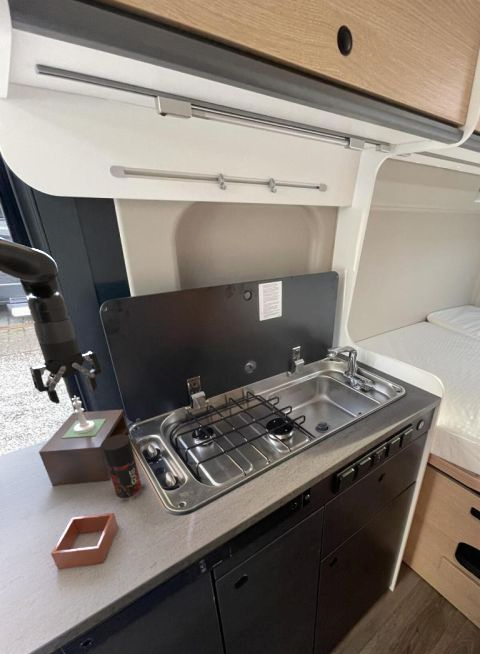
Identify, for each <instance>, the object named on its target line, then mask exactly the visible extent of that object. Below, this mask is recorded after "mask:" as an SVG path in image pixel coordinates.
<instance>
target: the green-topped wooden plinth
mask: <svg viewBox="0 0 480 654" xmlns="http://www.w3.org/2000/svg"><path fill="white" fill-rule="evenodd" d="M82 413H83V415H84V417H85V419H86V421H92V422H94V424H95V427H94V428H93V429H92V430H90V431H88V432H85V433H76V432H74V427H75V426H76V425H77V424H79V417H78V413H75V412H72V413H71V415H69V417H67V419H66V420H65V421H64V422H63V424H62V425H60V427H59V428H58V430H57V431H56V432H55V433H54V434H53V435H52V436H51V437H50V438H49V440H48V441H47V442H46V443H45V444H44V445H43V446H42V447H41V449H40V450H39V451H38V454H39V457H40V458H41V461H42V463H43V467H44V468H45V472H46V473H47V476H48V479H49V481H50V483H51V485H52V486H62V485H73V484H84V483H93V482H94V483H95V482H105V481H110V480H112V478H111V475H110V472H109V468H108V465H107V462H106V458H105V455H104V452H103V448H102V443H103V442H104V441H105V440H106V439H108V438H110V437H112V436H115V435H127V436H128V435H129V434H130V431H129V427H128V422H127V418H126V414H125V409H113V410H112V409H109V410H94V411H83V412H82Z"/></svg>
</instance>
